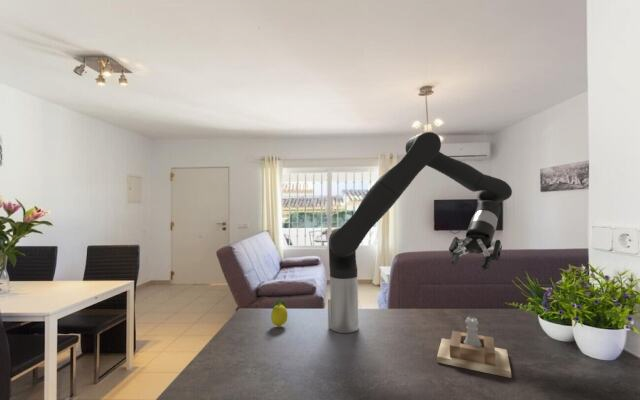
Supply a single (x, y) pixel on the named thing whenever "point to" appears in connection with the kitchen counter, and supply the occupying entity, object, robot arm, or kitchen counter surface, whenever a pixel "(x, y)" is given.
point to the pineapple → (279, 314)
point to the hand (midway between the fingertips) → (468, 266)
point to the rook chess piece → (472, 332)
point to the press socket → (474, 355)
